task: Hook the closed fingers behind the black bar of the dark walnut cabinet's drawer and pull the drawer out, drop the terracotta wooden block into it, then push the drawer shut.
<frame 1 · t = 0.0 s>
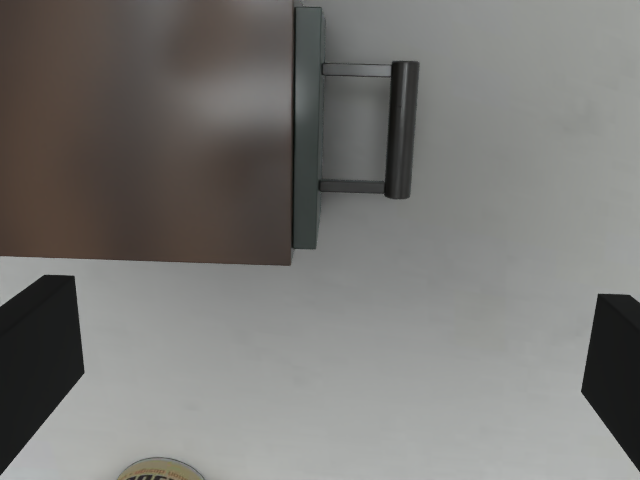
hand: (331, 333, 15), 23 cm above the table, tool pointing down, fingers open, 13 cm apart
drawer: (241, 124, 32), point 5 cm above the table, slide at 0.0 cm
cabinet: (186, 114, 36), on the table
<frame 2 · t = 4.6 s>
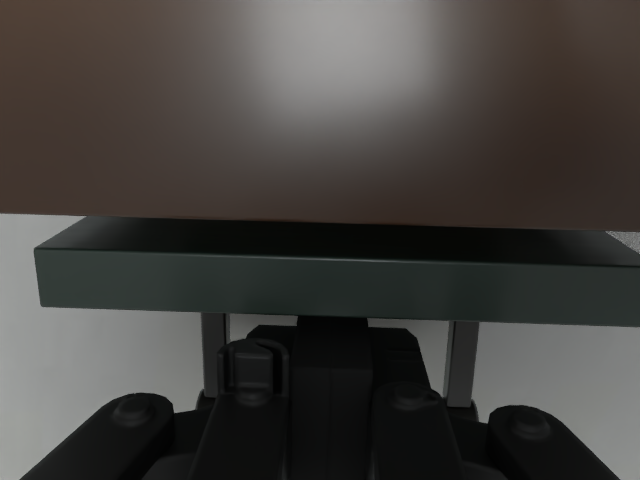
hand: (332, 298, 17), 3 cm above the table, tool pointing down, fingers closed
drawer: (346, 74, 13), point 5 cm above the table, slide at 0.9 cm
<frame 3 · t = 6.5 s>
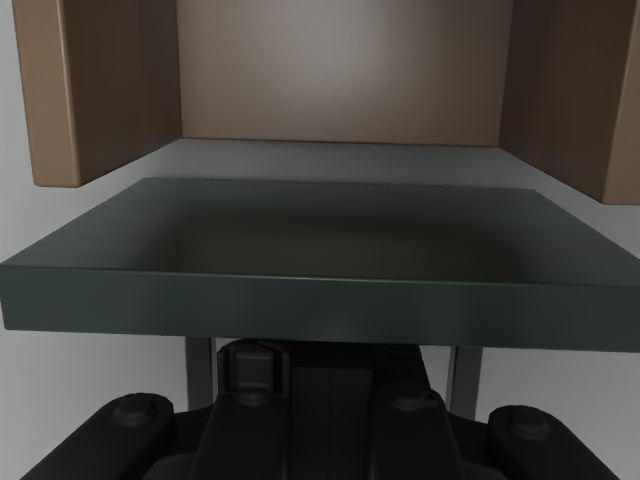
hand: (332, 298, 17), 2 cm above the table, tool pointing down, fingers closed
drawer: (341, 75, 12), point 5 cm above the table, slide at 8.4 cm, touching gripper
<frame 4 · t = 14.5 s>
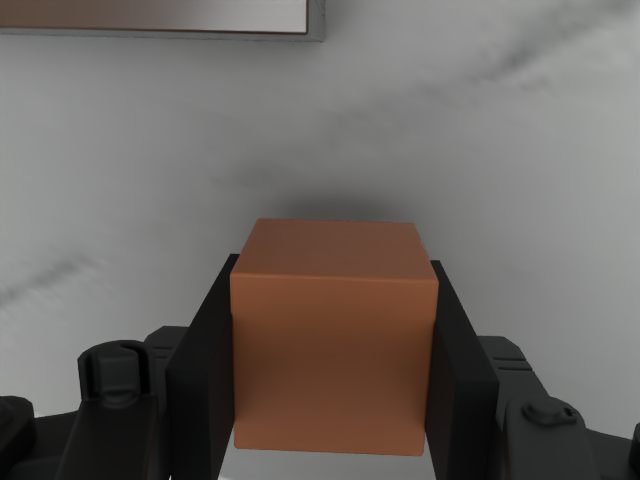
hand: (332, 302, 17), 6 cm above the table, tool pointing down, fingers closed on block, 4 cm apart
block: (333, 292, 17), point 5 cm above the table, touching gripper
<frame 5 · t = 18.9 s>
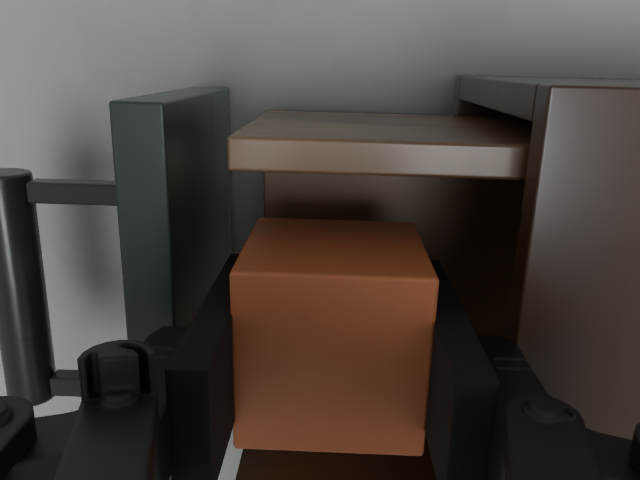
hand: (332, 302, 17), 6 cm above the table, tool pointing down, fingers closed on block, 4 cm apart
drawer: (311, 288, 18), point 5 cm above the table, slide at 7.8 cm
cabinet: (634, 252, 22), on the table
block: (333, 292, 17), point 6 cm above the table, touching gripper
when the fingers open (6 cm above the table, at t = 21.7 s): block drops 3 cm, resting on drawer.
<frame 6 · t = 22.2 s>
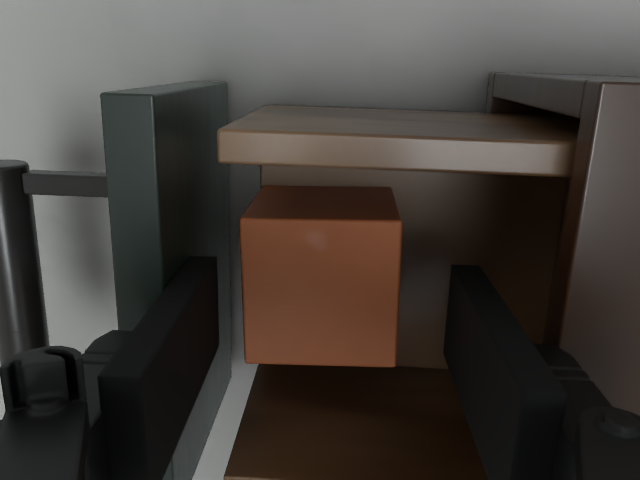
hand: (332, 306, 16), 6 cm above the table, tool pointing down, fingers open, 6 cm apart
drawer: (304, 282, 18), point 5 cm above the table, slide at 9.0 cm, touching block, gripper
block: (326, 247, 20), point 2 cm above the table, touching drawer
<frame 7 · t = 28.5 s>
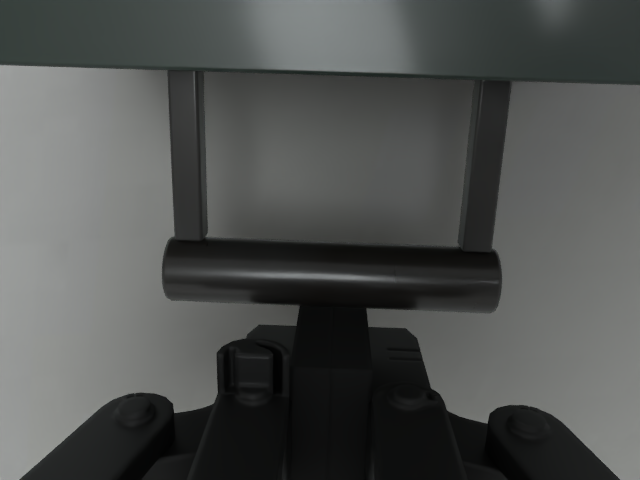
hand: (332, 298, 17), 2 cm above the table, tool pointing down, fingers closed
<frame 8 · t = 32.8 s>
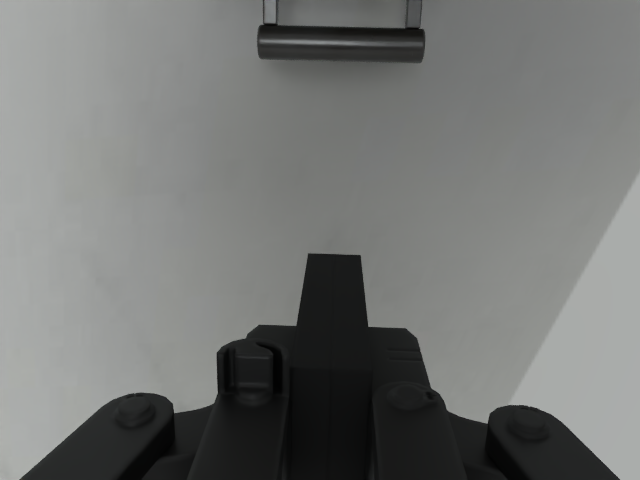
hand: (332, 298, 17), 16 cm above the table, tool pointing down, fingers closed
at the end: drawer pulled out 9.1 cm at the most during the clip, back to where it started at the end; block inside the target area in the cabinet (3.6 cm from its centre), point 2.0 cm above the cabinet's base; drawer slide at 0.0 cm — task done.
